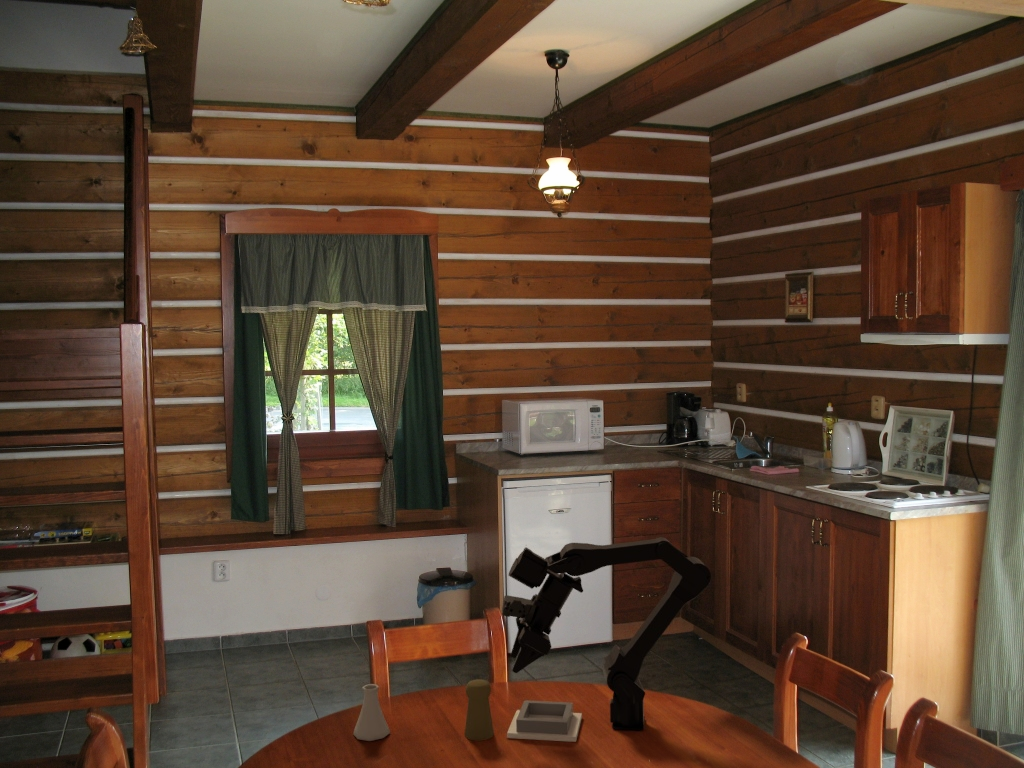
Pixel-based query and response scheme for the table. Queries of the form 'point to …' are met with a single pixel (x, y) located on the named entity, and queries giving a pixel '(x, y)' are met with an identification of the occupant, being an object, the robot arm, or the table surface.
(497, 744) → the table surface
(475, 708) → the cork
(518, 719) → the socket
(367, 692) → the flask
